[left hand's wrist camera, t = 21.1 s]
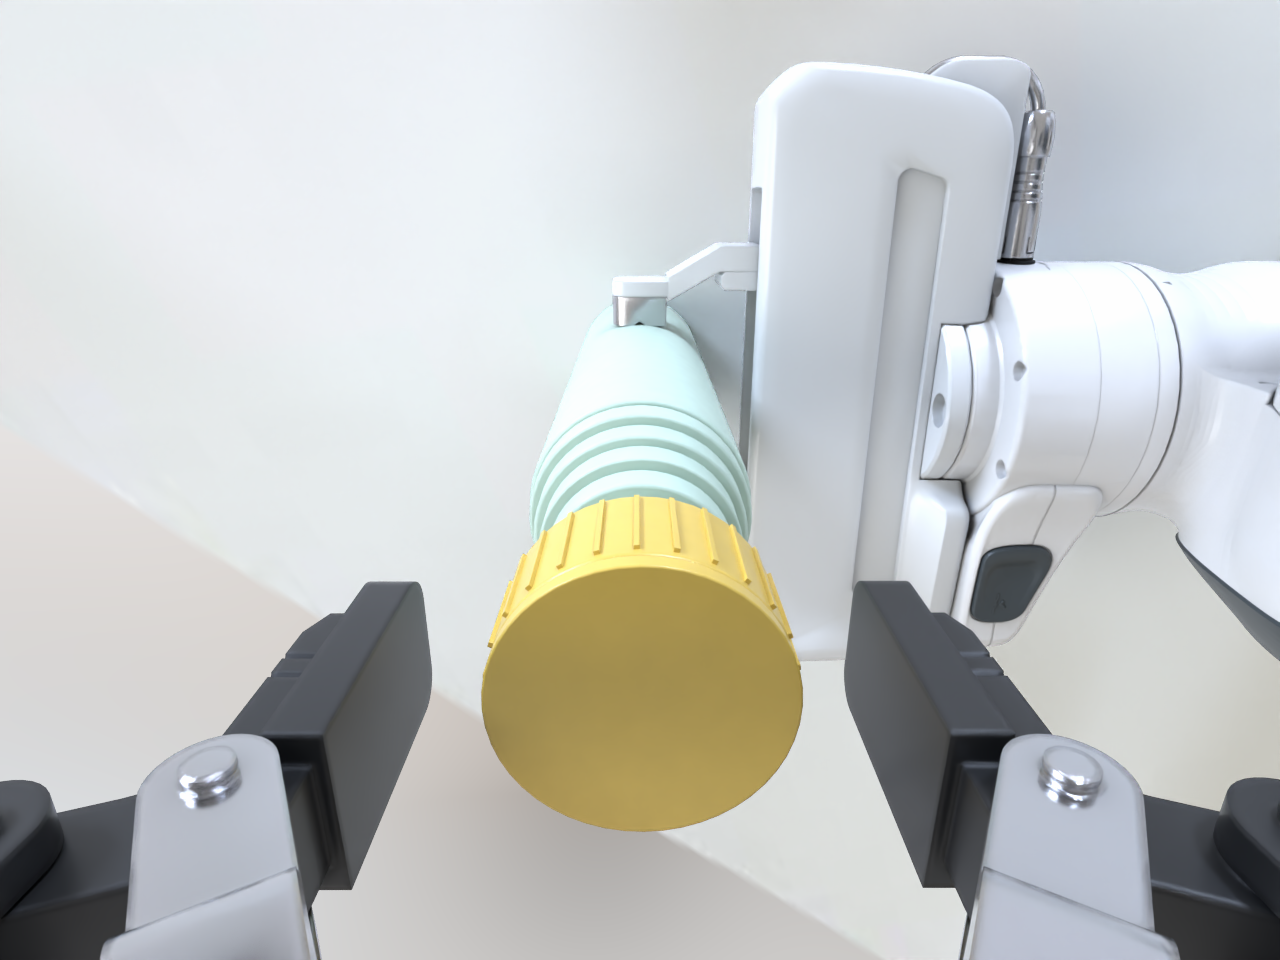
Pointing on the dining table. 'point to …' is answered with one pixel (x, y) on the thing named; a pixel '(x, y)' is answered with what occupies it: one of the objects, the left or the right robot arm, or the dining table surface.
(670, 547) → the cap
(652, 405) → the bottle
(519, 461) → the dining table surface
